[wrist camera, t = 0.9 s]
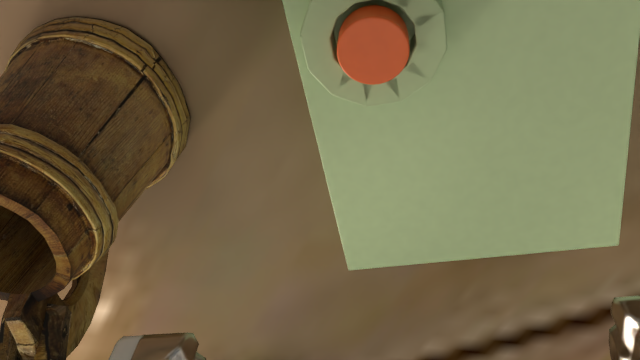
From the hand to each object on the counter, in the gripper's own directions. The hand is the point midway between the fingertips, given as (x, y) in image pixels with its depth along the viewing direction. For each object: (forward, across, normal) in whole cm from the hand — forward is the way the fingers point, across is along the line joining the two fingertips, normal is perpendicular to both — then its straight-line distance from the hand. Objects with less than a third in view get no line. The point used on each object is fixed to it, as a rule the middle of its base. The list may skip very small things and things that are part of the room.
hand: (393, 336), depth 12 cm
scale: (+18, -3, +5) cm, 19 cm away
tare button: (+15, +1, 0) cm, 15 cm away
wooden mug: (+18, +15, +4) cm, 24 cm away
